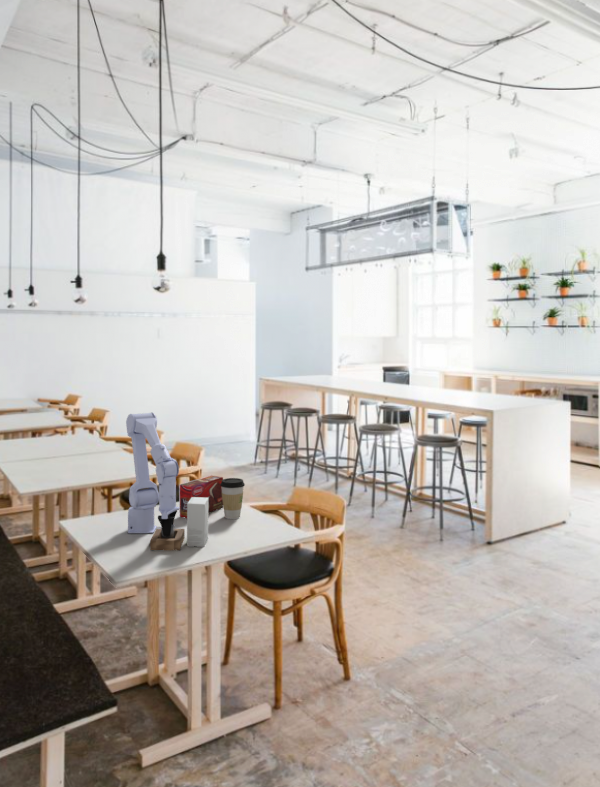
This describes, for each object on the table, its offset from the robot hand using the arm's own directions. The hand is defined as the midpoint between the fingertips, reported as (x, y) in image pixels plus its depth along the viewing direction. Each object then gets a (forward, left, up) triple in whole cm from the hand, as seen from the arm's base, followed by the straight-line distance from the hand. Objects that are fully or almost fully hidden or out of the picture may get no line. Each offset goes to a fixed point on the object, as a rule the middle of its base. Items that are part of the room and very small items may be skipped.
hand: (167, 533), depth 223 cm
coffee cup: (+21, +33, -4) cm, 39 cm away
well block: (0, 0, -4) cm, 4 cm away
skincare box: (+10, +1, -4) cm, 11 cm away
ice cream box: (+8, +40, -4) cm, 41 cm away
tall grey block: (0, 0, -3) cm, 4 cm away
